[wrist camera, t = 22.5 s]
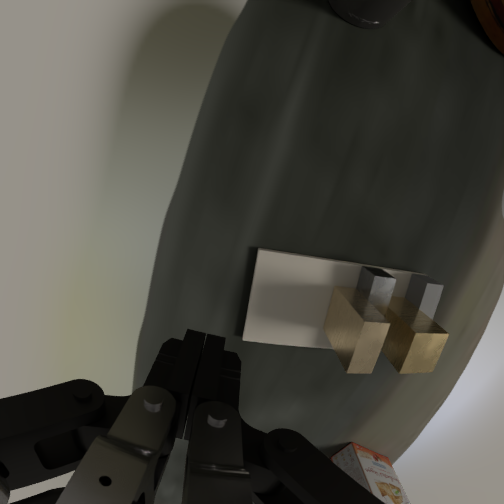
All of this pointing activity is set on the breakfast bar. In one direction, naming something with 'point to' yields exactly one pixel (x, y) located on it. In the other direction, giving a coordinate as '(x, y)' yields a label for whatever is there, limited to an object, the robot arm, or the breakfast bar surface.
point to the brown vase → (491, 20)
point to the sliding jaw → (360, 319)
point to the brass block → (412, 338)
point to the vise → (314, 296)
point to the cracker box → (371, 473)
